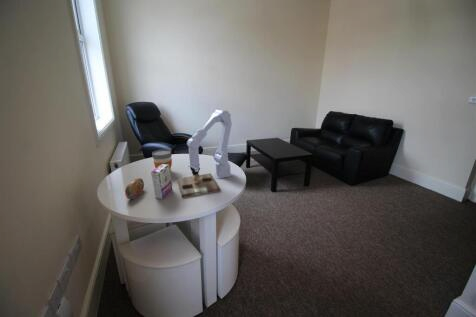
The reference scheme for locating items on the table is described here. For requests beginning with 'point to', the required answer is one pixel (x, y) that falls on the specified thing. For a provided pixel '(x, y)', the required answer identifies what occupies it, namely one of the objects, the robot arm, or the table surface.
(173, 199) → the table surface
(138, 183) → the brown flattened oblong
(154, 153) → the orange jar
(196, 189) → the board
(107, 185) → the table surface
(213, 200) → the table surface
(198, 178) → the maple block
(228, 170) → the robot arm
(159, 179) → the candy bar box
